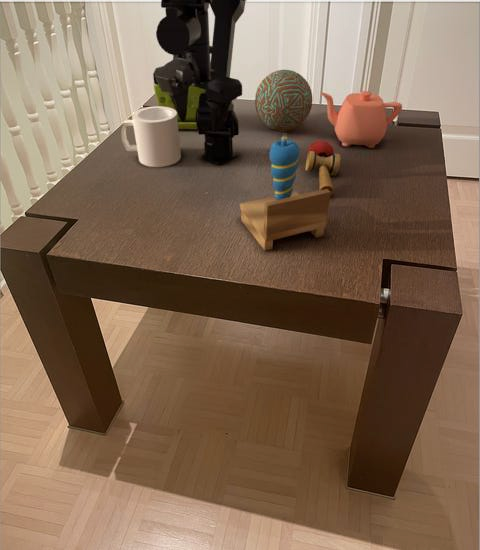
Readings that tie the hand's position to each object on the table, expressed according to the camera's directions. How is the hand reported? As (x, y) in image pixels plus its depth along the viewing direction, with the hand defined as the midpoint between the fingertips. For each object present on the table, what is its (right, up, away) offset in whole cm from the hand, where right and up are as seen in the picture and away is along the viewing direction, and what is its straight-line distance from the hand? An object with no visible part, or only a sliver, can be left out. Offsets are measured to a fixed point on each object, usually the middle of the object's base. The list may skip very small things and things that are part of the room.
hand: (199, 126), depth 93 cm
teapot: (+38, +5, +26) cm, 46 cm away
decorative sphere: (+20, +9, +32) cm, 39 cm away
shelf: (+16, -21, -6) cm, 27 cm away
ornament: (+16, -19, -7) cm, 26 cm away
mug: (-12, -2, +19) cm, 23 cm away
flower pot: (-7, +12, +36) cm, 38 cm away
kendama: (+27, -9, +10) cm, 30 cm away
